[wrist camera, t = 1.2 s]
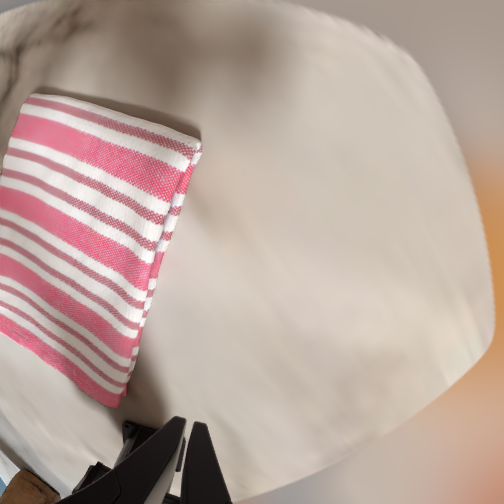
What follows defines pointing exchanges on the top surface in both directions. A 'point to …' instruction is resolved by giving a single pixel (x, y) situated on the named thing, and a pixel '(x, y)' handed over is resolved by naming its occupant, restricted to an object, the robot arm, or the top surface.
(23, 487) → the block
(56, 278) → the dish towel
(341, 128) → the top surface
